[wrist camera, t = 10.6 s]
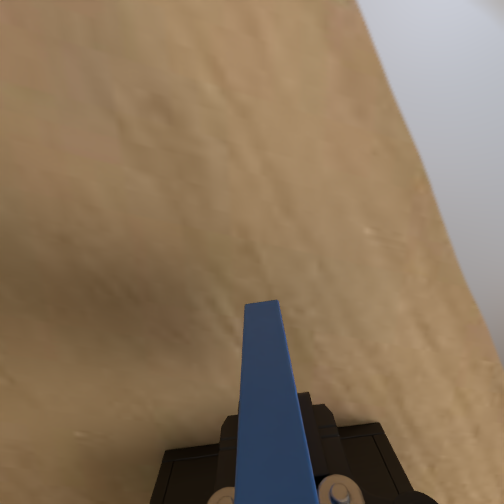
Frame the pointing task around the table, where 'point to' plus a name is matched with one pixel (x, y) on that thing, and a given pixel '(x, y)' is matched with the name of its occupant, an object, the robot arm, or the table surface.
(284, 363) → the blue lid
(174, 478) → the black square open box
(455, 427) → the table surface
